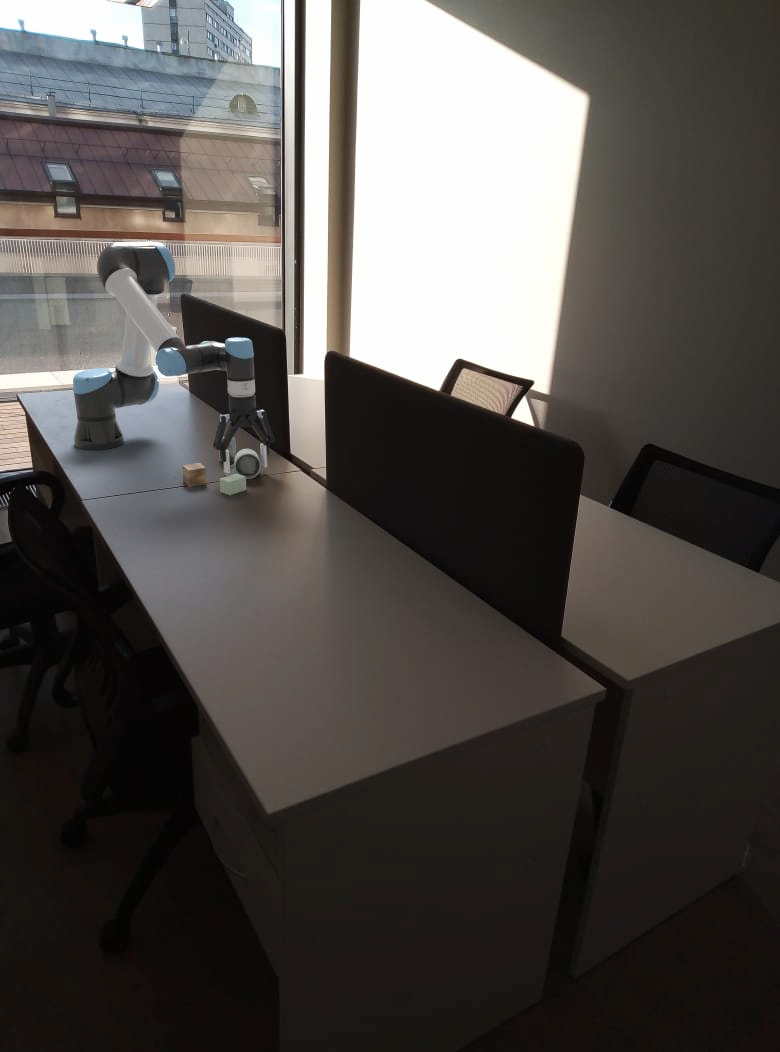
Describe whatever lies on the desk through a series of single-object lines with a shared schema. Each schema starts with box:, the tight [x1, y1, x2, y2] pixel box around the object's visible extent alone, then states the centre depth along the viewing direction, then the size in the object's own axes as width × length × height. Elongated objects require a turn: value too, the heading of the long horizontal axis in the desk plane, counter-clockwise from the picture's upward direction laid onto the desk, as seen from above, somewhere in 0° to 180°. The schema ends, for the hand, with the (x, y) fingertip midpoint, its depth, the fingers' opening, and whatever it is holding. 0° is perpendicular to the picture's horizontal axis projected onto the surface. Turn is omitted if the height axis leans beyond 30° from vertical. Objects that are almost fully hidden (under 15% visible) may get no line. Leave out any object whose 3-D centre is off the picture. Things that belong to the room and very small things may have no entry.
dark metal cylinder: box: [218, 436, 237, 464], centre depth 236 cm, size 5×5×7 cm
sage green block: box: [219, 474, 247, 496], centre depth 212 cm, size 6×4×4 cm, turn 143°
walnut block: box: [181, 462, 208, 488], centre depth 217 cm, size 5×5×5 cm
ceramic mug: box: [223, 448, 262, 480], centre depth 224 cm, size 11×8×8 cm
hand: (245, 469), depth 224 cm, fingers open, 11 cm apart
